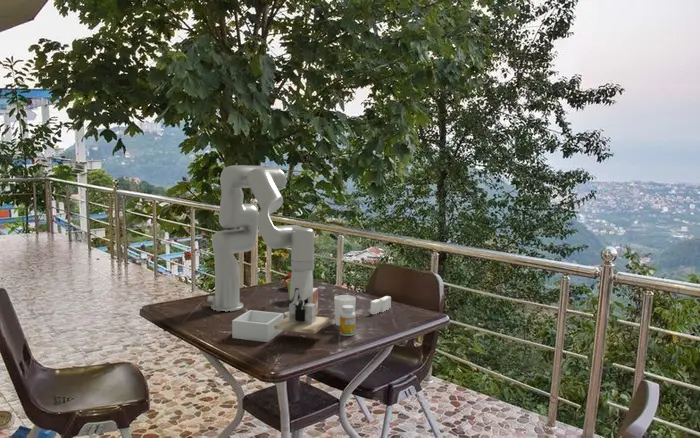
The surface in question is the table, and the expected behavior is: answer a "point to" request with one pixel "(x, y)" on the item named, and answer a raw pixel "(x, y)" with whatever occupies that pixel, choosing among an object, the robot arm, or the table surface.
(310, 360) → the table surface
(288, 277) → the pomegranate
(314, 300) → the small box
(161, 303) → the table surface
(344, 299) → the white cup
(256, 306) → the table surface
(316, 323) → the cover plate
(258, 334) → the shallow square tray
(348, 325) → the supplement bottle
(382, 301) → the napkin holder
